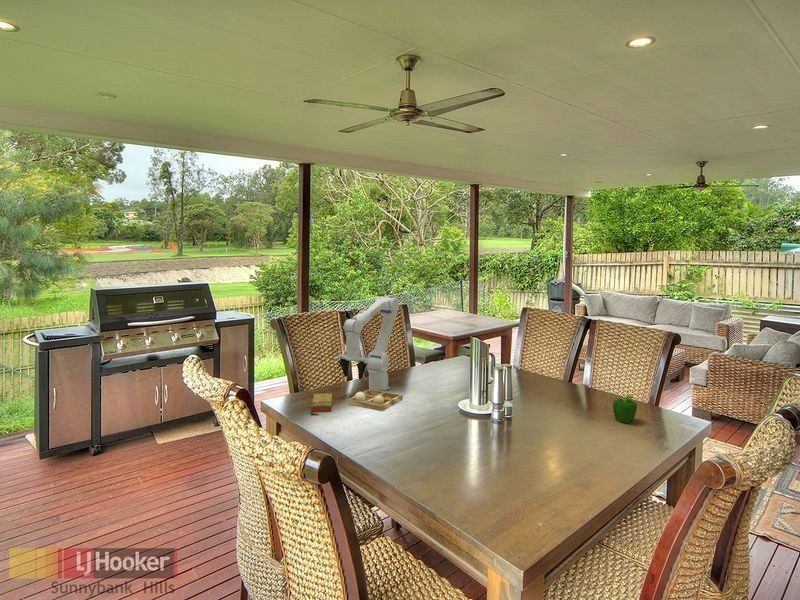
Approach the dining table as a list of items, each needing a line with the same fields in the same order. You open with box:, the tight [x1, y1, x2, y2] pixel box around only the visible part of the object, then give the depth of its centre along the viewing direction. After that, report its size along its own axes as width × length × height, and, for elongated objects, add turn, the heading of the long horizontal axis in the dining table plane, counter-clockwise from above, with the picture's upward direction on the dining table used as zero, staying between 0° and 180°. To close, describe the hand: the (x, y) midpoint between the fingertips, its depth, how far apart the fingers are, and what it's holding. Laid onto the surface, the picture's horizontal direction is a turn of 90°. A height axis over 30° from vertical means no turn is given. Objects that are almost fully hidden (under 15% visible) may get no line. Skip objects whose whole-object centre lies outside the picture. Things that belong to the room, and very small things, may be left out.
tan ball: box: [373, 395, 384, 405], centre depth 201 cm, size 5×5×5 cm
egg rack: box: [347, 388, 404, 412], centre depth 207 cm, size 17×17×3 cm
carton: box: [310, 393, 333, 416], centre depth 202 cm, size 8×16×4 cm, turn 7°
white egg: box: [354, 391, 366, 402], centre depth 206 cm, size 5×5×5 cm
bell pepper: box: [612, 395, 638, 424], centre depth 188 cm, size 8×8×10 cm
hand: (353, 377), depth 212 cm, fingers open, 7 cm apart
